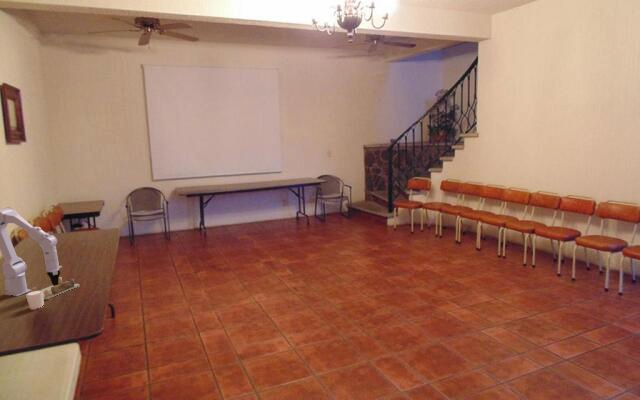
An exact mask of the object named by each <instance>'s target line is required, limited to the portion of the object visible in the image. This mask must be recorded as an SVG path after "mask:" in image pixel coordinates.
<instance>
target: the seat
mask: <svg viewBox="0 0 640 400" xmlns="http://www.w3.org/2000/svg"><path fill="white" fill-rule="evenodd" d="M63 282H64V281H63V277H62V276H59V280H58V284H60V283H63ZM51 287H53V284H52V285H49V286H48V287H45V288H42V289H41V290H42V291H43V297H44V300H47V299H49V298H51V297H54V296H56V295H58V296H60V295H59V294H61V293H63V294H65V293H64V292H66V291H68V290H70V291H72V290H71V289H73V290H75V289H78V288H80V287H81V285H80V284H79V283H75V285H74V286H72V287H70V288H67V289H65V290H63V291H60V292H58V293H56V294H55V293H52V291H51ZM77 287H78V288H77ZM74 288H75V289H74ZM30 290H32V291H31V292H33V291H38V290H37V286H35V287H31V289H30ZM68 292H69V291H68ZM66 293H67V292H66ZM61 295H62V294H61ZM56 297H57V296H56ZM54 298H55V297H54ZM51 299H52V298H51ZM49 300H50V299H49Z"/></svg>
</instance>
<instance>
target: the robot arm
mask: <svg viewBox="0 0 640 400" xmlns="http://www.w3.org/2000/svg"><path fill="white" fill-rule="evenodd" d="M8 224H15V225H16V226H18V227H19V228H21V229H22V230H24V231H25V232H27V236H29V237H30V238H31V239H33V240H34V241H35V242H37V243H39V244H38V245H39V247H40V248H41V251H42V252H43V258H44V259H43V260H44V263H45V272H46V275H47V277H49V279H50V282H51V284H52V285H53V286H56V285H58V280H59V277H60V275H61V270H60V269H63V266H62V265H59V263H60V262H59V257H58V251H57V246H56V245H57V244H58V238H57V237H56V236H55V235H54V234H49V233H47V232H45V230H42V227H40V226H34V225H32V224H30V223H29V222H28V221H27V220H26V219H25V218H23V217H22V216H21V215H19V212H18V211H17V210H15V209H14V208H13V207H11V206H10V207H9V206H8V207H7V206H6V207H5V208H1V209H0V254H1V255H2V257H3V260H4V261H3V264H2V265H1V267H2V273H3V275H4V277H5V280H4V287H5V292H6V293H4V295H5V296H11V295H13V296H12V297H19V296H22V295H24V294H27V293H29V292H32V290H31V289H29V288H28V285H27V280H26V271H27V269H28V265H27V264H26V262H24V260H23V259H22V257H20V256H18V254H17V253H16V249H15V248H14V245H13V243H12V240H11V238H10V235H9V233H8V231H7V228H6V227H7V226H8Z"/></svg>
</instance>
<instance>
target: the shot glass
mask: <svg viewBox="0 0 640 400" xmlns="http://www.w3.org/2000/svg"><path fill="white" fill-rule="evenodd" d="M25 297H26V300H27V304H28V306H29V307H28V308H29V310H37V308H39V309H41V308H43V307H44V306H45V301H44V300H45V299H44V297H43V291H42V289H40V290H39V289H38V290H37V291H33V292H32V291H29V292H27V293H25ZM43 305H44V306H43ZM42 306H43V307H42ZM40 307H41V308H40Z"/></svg>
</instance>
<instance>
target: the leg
mask: <svg viewBox="0 0 640 400" xmlns="http://www.w3.org/2000/svg"><path fill="white" fill-rule="evenodd" d="M62 282H63V283H60V284H58V285H56V286H53V287H51V291H52V293H55V294H56V293H58V292H60V291H63V290H65V289H67V288H70V287H72V286H74V285H75V284H76V283H75V279H74V278H70V279H68V280H66V281H62Z"/></svg>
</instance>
